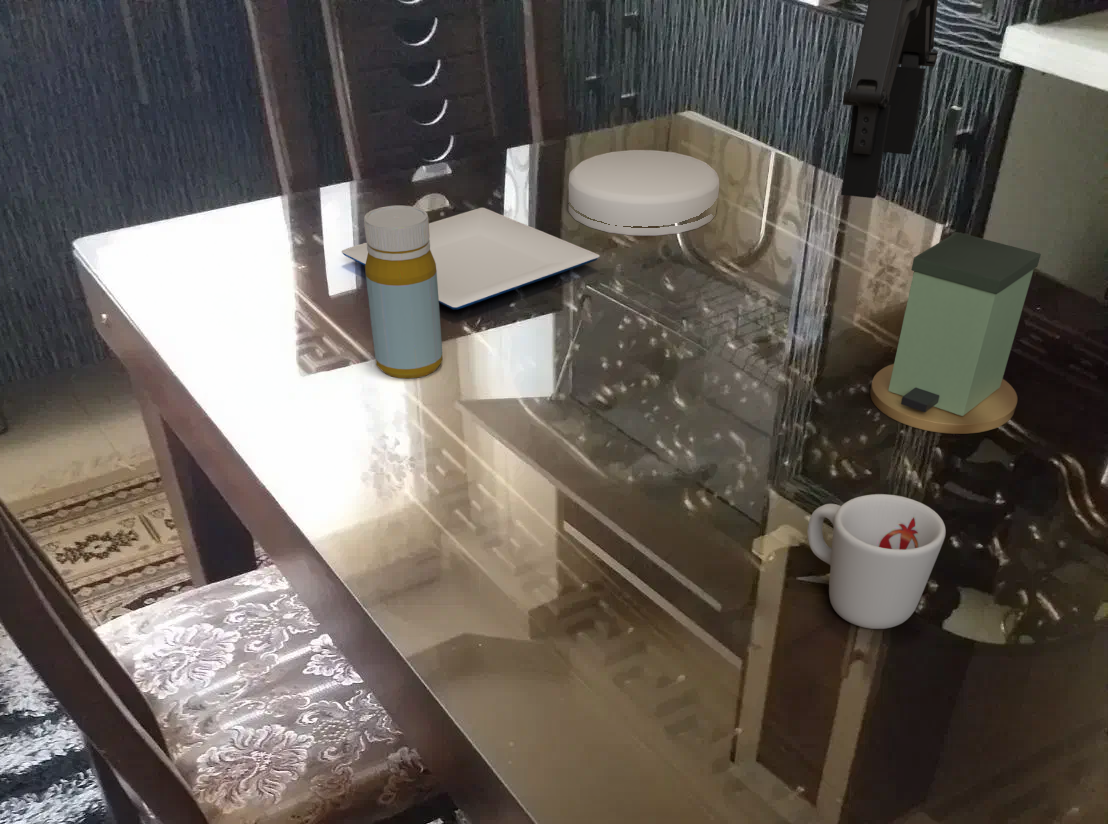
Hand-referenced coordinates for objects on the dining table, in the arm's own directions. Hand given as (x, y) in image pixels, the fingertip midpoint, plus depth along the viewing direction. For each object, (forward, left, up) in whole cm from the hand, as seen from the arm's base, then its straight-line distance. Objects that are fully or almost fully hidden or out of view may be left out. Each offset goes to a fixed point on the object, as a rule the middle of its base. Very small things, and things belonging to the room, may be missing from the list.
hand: (877, 173), depth 97 cm
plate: (+31, -42, -22) cm, 57 cm away
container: (+7, -59, -22) cm, 64 cm away
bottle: (+40, -17, -22) cm, 49 cm away
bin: (-11, 0, -21) cm, 23 cm away
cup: (+8, +30, -22) cm, 38 cm away
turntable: (-12, -1, -22) cm, 25 cm away
